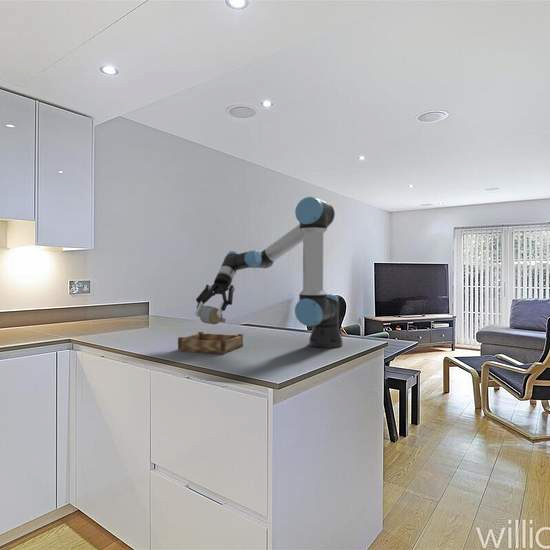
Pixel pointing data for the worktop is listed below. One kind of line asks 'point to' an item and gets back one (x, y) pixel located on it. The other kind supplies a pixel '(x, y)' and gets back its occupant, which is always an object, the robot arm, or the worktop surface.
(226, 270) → the robot arm
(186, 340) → the crate
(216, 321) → the ceramic mug
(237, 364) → the worktop surface
